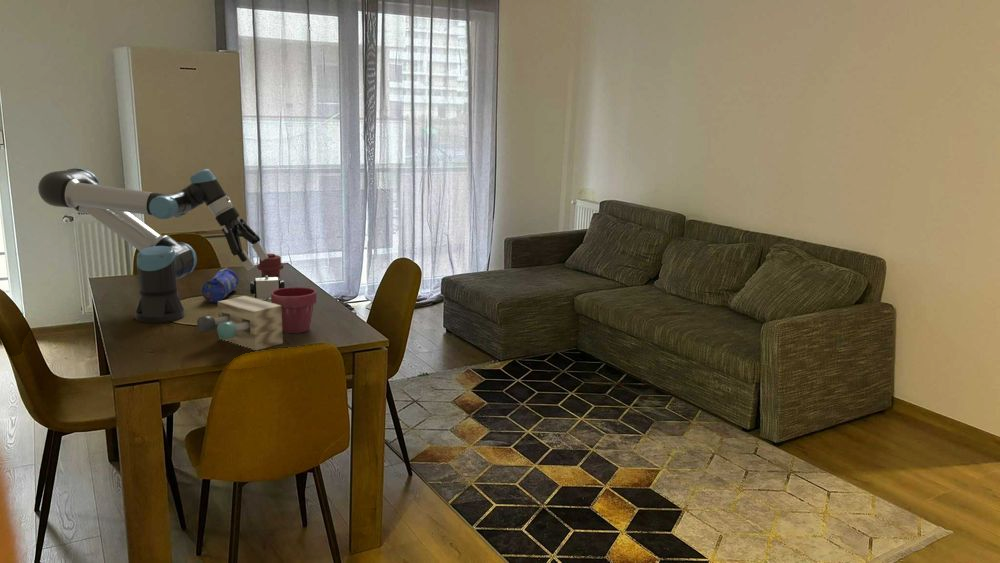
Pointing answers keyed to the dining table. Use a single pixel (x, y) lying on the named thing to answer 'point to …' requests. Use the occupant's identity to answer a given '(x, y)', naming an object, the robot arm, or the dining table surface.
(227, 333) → the knob teal
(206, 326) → the knob charcoal
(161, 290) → the robot arm
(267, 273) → the mechanical component
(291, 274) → the dining table surface
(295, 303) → the plant pot
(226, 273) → the pencil case
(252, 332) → the block
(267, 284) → the pneumatic valve
